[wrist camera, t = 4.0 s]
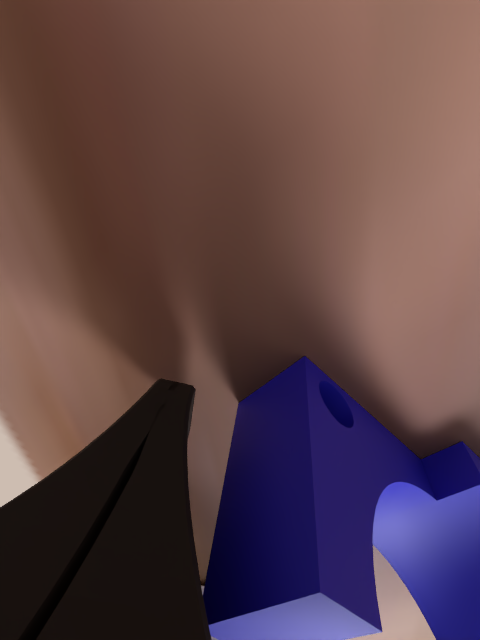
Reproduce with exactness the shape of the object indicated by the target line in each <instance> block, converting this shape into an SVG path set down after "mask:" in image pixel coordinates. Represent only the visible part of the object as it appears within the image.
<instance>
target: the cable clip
mask: <svg viewBox="0 0 480 640" xmlns="http://www.w3.org/2000/svg"><path fill="white" fill-rule="evenodd" d="M373 545H374V546H375V547H376V548H377V549H378V550H379V551H380V552H381V554H382V555H383V556H384V557H385V558H386V559H387V561H388V562H389V563H390V564H391V566H392V567H393V568H394V570H395V571H396V572H397V574H398V575H399V577H400V578H401V580H402V581H403V583H404V584H405V585H406V587H407V588H408V590H409V592H410V593H411V595H412V597H413V598H414V600H415V601H416V603H417V605H418V607H419V608H420V610H421V612H422V614H423V615H424V617H425V619H426V621H427V623H428V625H429V626H430V628H431V630H432V632H433V634H434V636H435V638H436V640H480V458H479V457H478V456H477V455H476V454H475V453H474V452H473V451H472V450H471V449H470V448H469V447H468V446H467V445H466V444H465V443H464V442H463V441H462V442H459V443H457V444H455V445H453V446H450V447H448V448H446V449H444V450H441V451H439V452H437V453H435V454H432V455H430V456H428V457H425V458H423V459H420V458H418V457H417V456H416V455H415V454H414V453H413V452H412V451H411V450H410V449H408V448H407V447H406V446H405V445H404V444H403V443H402V442H401V441H399V440H398V439H397V438H396V437H395V436H394V435H393V434H392V433H391V432H389V431H388V430H387V429H386V428H385V427H384V426H383V425H382V424H381V423H379V422H378V421H377V420H376V419H375V418H374V417H373V416H372V415H370V414H369V413H368V412H367V411H366V410H365V409H364V408H363V407H362V406H360V405H359V404H358V403H357V402H356V401H355V400H354V399H353V398H352V397H350V396H349V395H348V394H347V393H346V392H345V391H344V390H343V389H341V388H340V387H339V386H338V385H337V384H336V383H335V382H334V381H333V380H331V379H330V378H329V377H328V376H327V375H326V374H325V373H324V372H323V371H321V370H320V369H319V368H318V367H317V366H316V365H315V364H314V363H312V362H311V361H310V360H309V359H308V358H307V357H306V356H304V357H302V358H301V359H300V360H298V361H297V362H295V363H294V364H293V365H291V366H290V367H288V368H287V369H286V370H284V371H283V372H281V373H280V374H279V375H277V376H276V377H274V378H273V379H272V380H270V381H269V382H267V383H266V384H265V385H263V386H262V387H260V388H259V389H258V390H256V391H255V392H254V393H252V394H251V395H249V396H248V397H247V398H245V399H244V400H242V401H241V402H240V403H239V404H238V410H237V415H236V420H235V426H234V431H233V436H232V442H231V447H230V452H229V458H228V463H227V469H226V474H225V479H224V485H223V490H222V495H221V501H220V506H219V511H218V517H217V522H216V528H215V533H214V538H213V544H212V549H211V554H210V560H209V565H208V570H207V576H206V581H205V587H204V592H203V599H204V604H205V610H206V615H207V620H208V625H209V630H210V634H211V636H212V637H214V638H216V639H218V640H345V639H350V638H355V637H360V636H365V635H370V634H375V633H380V632H382V627H381V620H380V614H379V608H378V602H377V595H376V585H375V576H374V567H373Z"/></svg>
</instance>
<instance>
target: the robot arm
mask: <svg viewBox="0 0 480 640" xmlns="http://www.w3.org/2000/svg"><path fill="white" fill-rule="evenodd" d="M195 390H196V389H195V388H194V387H193V386H192V385H188V384H183V383H179V382H175V381H170V380H166V379H159V380H157V381H156V382H155V383H154V384H153V385H152V387H151V388H150V389H149V390H148V391H147V392H146V393H145V394H144V395H143V396H142V397H141V398H140V399H139V400H138V401H137V402H136V403H135V404H134V405H133V406H132V407H131V408H130V409H129V410H128V411H127V412H126V413H124V414H123V415H122V416H121V417H120V418H119V419H118V420H117V421H116V422H115V423H114V424H112V425H111V426H110V427H109V428H108V429H107V430H106V431H105V432H103V433H102V434H101V435H100V436H99V437H97V438H96V439H95V440H94V441H92V442H91V443H90V444H89V445H88V446H86V447H85V448H84V449H83V450H82V451H80V452H79V453H78V454H77V455H75V456H74V457H73V458H71V459H70V460H69V461H67V462H66V463H65V464H63V465H62V466H61V467H59V468H58V469H57V470H55V471H54V472H52V473H51V474H50V475H48V476H47V477H45V478H44V479H43V480H41V481H40V482H38V483H37V484H35V485H34V486H32V487H31V488H29V489H28V490H26V491H25V492H23V493H22V494H20V495H19V496H17V497H16V498H14V499H13V500H11V501H10V502H8V503H7V504H5V505H4V506H2V507H0V640H218V639H216V638H214V637H212V636H211V634H210V630H209V625H208V620H207V615H206V610H205V604H204V599H203V592H204V587H205V586H202V585H201V582H200V576H199V570H198V563H197V557H196V551H195V544H194V537H193V529H192V520H191V511H190V500H189V487H188V466H187V439H188V435H189V431H190V426H191V418H192V411H193V404H194V397H195Z"/></svg>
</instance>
